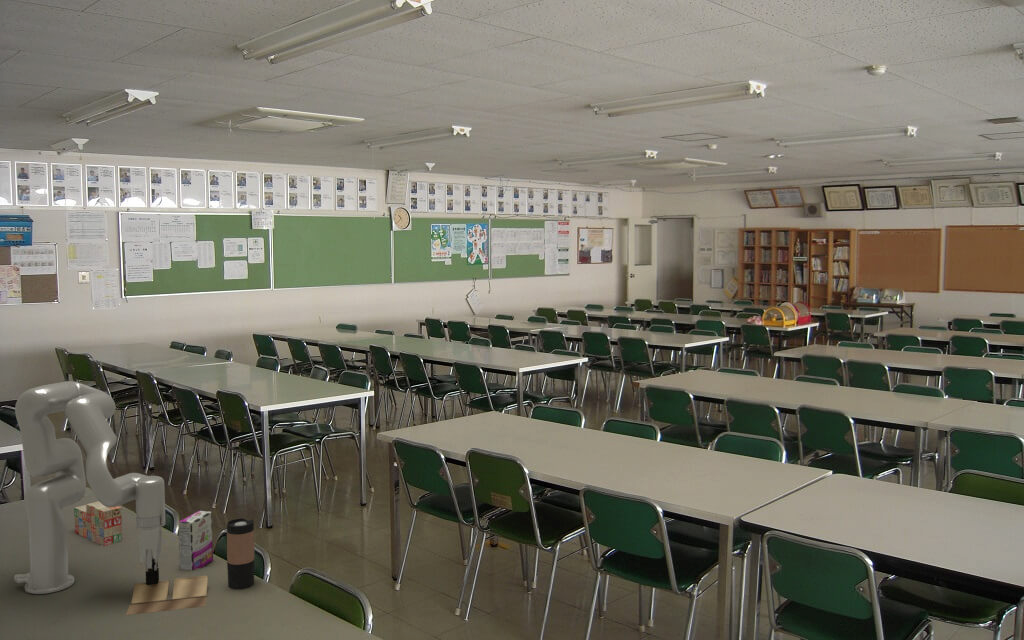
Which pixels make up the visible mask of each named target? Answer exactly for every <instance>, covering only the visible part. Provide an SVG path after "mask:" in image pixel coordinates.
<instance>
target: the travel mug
mask: <svg viewBox="0 0 1024 640" xmlns="http://www.w3.org/2000/svg"><path fill="white" fill-rule="evenodd" d="M254 523H255V522H254V519H249V520H247V519H246V518H242V517H241V518H240V517H239V518H234V519H231V520H229V521H227V523H226V539H227V540H226V558H227V559H226V564H227V567H226V569H227V585H228V588H229V589H231V590H245V589H248V588H251V587H253V585H254V584H255V556H256V555H255V524H254Z"/></svg>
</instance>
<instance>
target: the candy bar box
mask: <svg viewBox="0 0 1024 640" xmlns="http://www.w3.org/2000/svg"><path fill="white" fill-rule="evenodd" d="M212 516H213V515H212V511H208V510H207V511H206V510H198V511H195V512H194V513H192V514H191V515H188V516H187V517H185V518H182V519H181V520H179V521H178V522H177V523H178V524H177V525H178V545H179V546H178V549H179V551H178V552H179V571H183V570H184V571H185V570H186V571H194V570H196V569H203V568H204V567H206V566H207V565H209V564H210V563H212V562H213V561H214V548H213V547H214V545H213V517H212Z"/></svg>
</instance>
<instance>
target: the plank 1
mask: <svg viewBox="0 0 1024 640" xmlns="http://www.w3.org/2000/svg"><path fill="white" fill-rule="evenodd" d="M169 589H170V581H169V580H159V581H158V584H153V585H146V582H142V583H141V582H140V583H134V587H133V591H132V597H131V603H130V604H134V603H143V602H152V601H162V600H168V596H169V595H168V594H169Z"/></svg>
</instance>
